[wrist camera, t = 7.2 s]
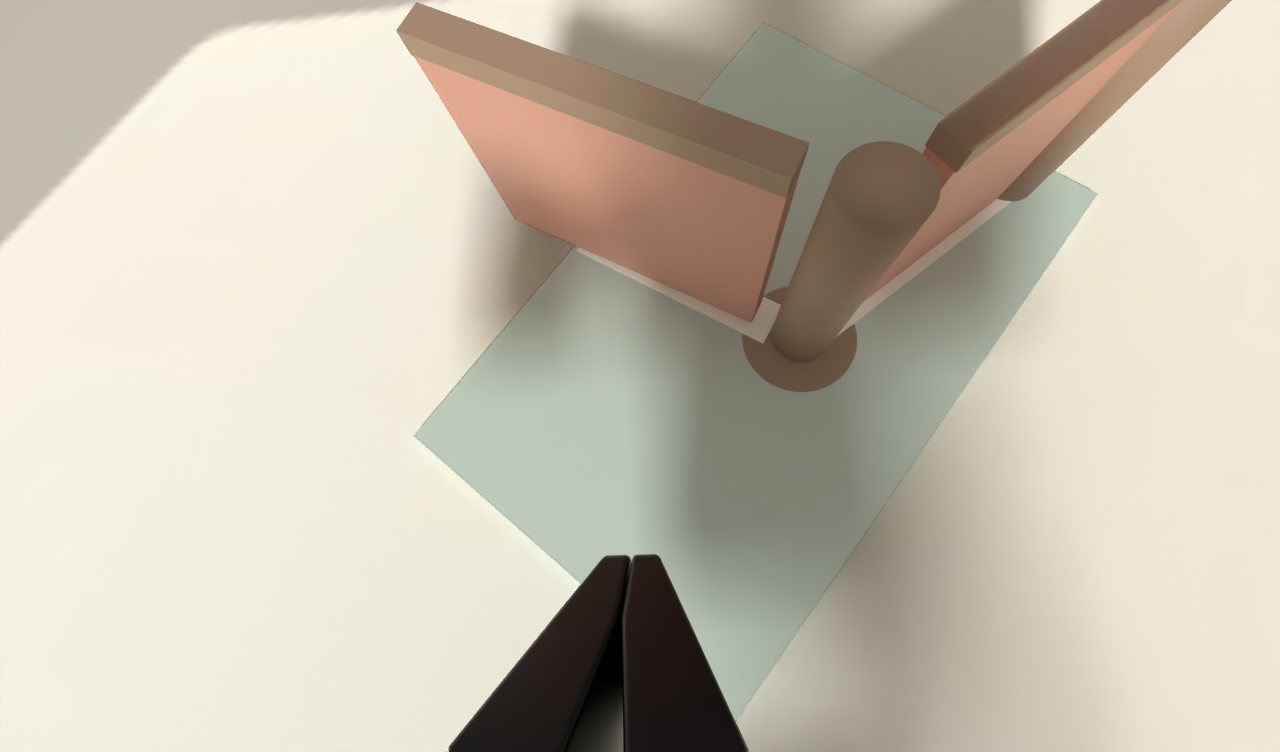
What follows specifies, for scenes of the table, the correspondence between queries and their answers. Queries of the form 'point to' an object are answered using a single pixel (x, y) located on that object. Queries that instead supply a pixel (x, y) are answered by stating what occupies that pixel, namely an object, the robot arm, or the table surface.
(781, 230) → the swing panel
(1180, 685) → the table surface
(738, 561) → the mat
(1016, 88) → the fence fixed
